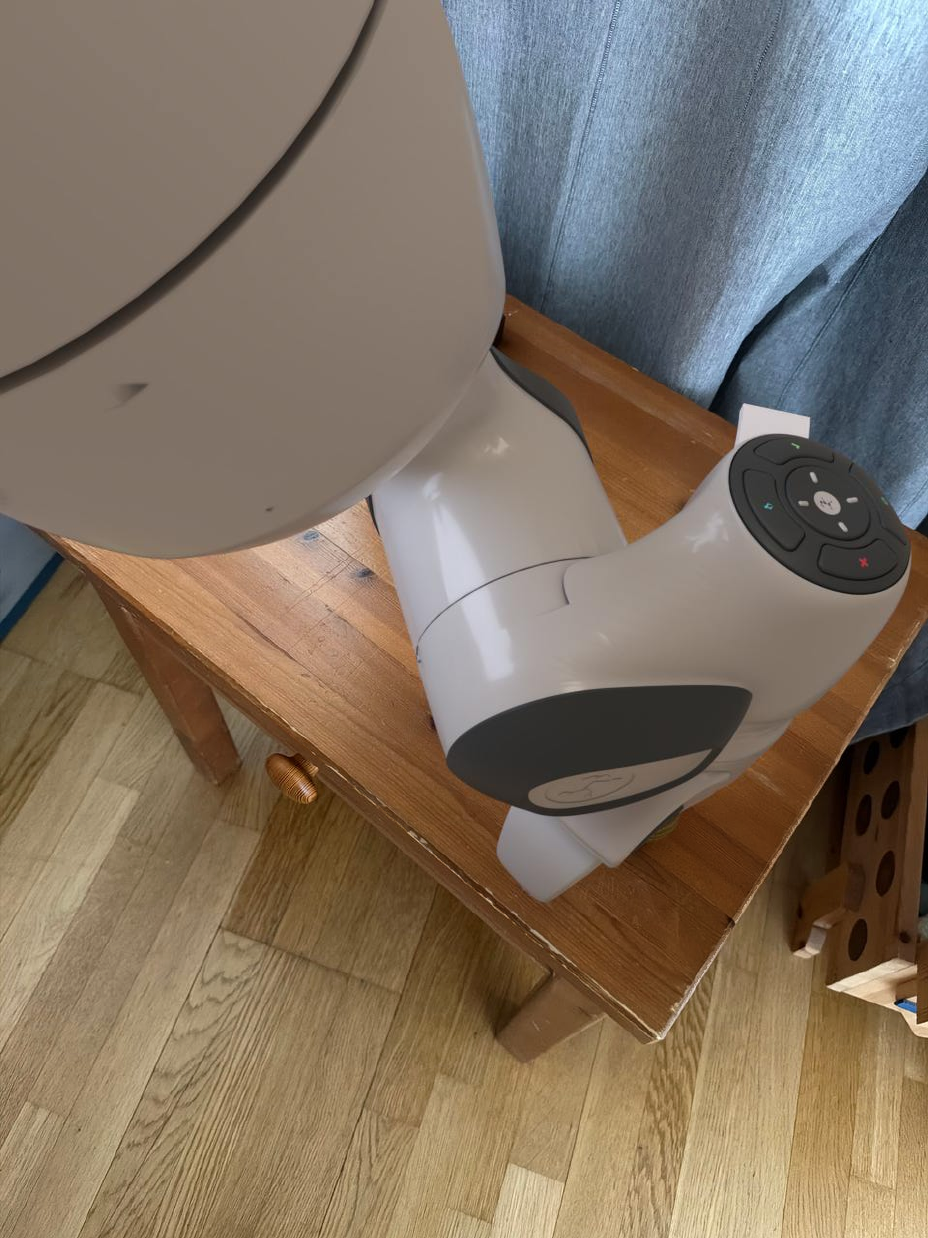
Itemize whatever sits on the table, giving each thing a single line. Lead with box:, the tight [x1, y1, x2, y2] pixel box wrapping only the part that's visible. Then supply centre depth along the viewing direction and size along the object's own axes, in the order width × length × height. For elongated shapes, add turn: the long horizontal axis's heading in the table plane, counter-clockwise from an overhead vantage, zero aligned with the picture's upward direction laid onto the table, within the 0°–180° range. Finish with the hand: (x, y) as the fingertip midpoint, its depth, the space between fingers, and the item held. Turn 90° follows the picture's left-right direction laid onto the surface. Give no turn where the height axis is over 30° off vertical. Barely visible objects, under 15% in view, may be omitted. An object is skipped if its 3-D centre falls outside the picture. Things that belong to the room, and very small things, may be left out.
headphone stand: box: [733, 402, 811, 448], centre depth 64 cm, size 5×6×12 cm
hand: (615, 791), depth 56 cm, fingers closed on sculpture, 4 cm apart
